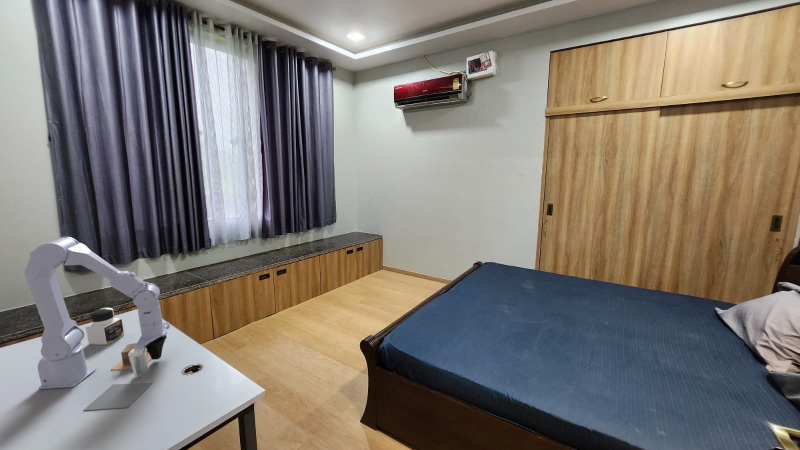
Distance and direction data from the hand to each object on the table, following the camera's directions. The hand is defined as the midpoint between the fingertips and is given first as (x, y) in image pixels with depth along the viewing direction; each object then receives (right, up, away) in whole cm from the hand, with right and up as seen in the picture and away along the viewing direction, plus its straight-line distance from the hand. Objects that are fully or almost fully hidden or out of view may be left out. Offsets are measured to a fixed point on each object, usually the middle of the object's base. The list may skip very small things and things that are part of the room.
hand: (156, 358), depth 104 cm
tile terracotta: (-7, -1, 0) cm, 7 cm away
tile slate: (+2, -4, -16) cm, 16 cm away
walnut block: (-7, -1, 0) cm, 7 cm away
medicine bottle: (-29, +2, +12) cm, 31 cm away
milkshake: (+1, -3, -7) cm, 7 cm away
